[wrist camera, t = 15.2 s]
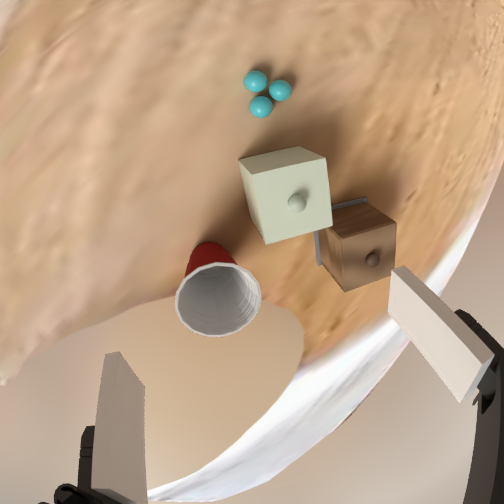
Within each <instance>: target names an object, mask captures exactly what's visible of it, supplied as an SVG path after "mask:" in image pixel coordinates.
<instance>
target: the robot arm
mask: <svg viewBox="0 0 504 504" xmlns="http://www.w3.org/2000/svg"><path fill="white" fill-rule="evenodd" d="M388 313H389V314H390V316H391V317H392V318H393V319H394V320H395V322H396V323H397V324H398V325H399V326H400V328H401V329H402V330H403V331H404V332H405V334H406V335H407V336H408V337H409V339H410V340H411V341H412V342H413V343H414V345H415V346H416V347H417V348H418V350H419V351H420V352H421V353H422V355H423V356H424V357H425V358H426V360H427V361H428V362H429V364H430V365H431V366H432V367H433V369H434V370H435V371H436V373H438V375H439V376H440V378H441V379H442V380H443V382H444V383H445V384H446V386H447V387H448V388H449V390H450V391H451V392H452V394H453V395H454V396H455V398H456V399H457V400H458V402H459V403H461V402H463V401H464V400H465V399H467V398H468V397H470V396H471V395H472V394H473V392H474V391H475V389H476V388H478V389H479V390H480V391H479V393H478V395H477V396H476V398H475V399H474V401H473V405H475V404H476V402H477V401H478V411H477V424H476V433H475V442H474V450H473V456H472V463H471V469H470V474H469V479H468V484H467V489H466V493H465V497H464V501H463V504H504V348H502V347H501V346H500V344H499V343H498V342H497V341H496V340H495V339H494V338H493V337H492V336H491V335H490V334H489V333H488V332H487V331H486V330H485V329H483V328H482V326H481V325H480V324H479V323H477V321H476V320H475V319H474V318H473V317H472V316H471V315H470V314H469V313H467V312H465V311H463V310H461V309H459V310H457V311H455V312H453V311H452V310H451V309H450V308H449V307H448V306H447V305H446V304H445V303H444V302H443V301H442V300H441V299H440V298H439V297H438V296H437V295H436V294H435V293H434V292H433V291H432V290H430V289H429V288H428V287H427V286H426V285H425V284H424V283H423V282H422V281H421V280H420V279H419V278H417V277H416V276H415V275H414V274H413V273H412V272H411V271H410V270H409V269H408V268H406V267H405V266H404V265H403V266H401V267H398V268H395V269H393V270H392V271H391V283H390V294H389V303H388ZM144 394H145V386H144V385H143V384H142V382H141V381H140V380H139V378H138V377H137V376H136V374H135V373H134V372H133V370H132V369H131V367H130V366H129V365H128V363H127V362H126V360H125V359H124V357H123V356H122V354H121V353H120V352H114V353H110V354H105V359H104V365H103V371H102V377H101V384H100V391H99V398H98V406H97V414H96V423H95V426H87V427H86V428H85V430H84V432H83V435H82V437H81V447H80V448H81V450H80V458H79V470H78V486H77V487H76V486H74V485H71V484H62V485H60V486H59V487H58V488H57V489H56V491H55V494H54V503H55V504H148V500H147V488H146V469H145V441H144ZM38 504H49V503H46V502H40V503H38Z"/></svg>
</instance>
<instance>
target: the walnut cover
mask: <svg viewBox="0 0 504 504" xmlns="http://www.w3.org/2000/svg"><path fill="white" fill-rule="evenodd" d="M331 211H332V223H333V226H330V227H327V228H323V229H320V230H318V238H319V248H320V259H321V263H322V264H323V266H324V267H325V268H326V270H327V271H328V272H329V273H330V275H331V276H332V277H333V278H334V280H335V281H336V282H337V283H338V285H339V286H340V287H341V289H342V290H343V291H344V292H347V291H350V290H352V289H355V288H358V287H361V286H364V285H366V284H369V283H372V282H374V281H377V280H380V279H382V278H385V277H388V276H390V275H391V271H392V270H393V269H394V266H395V250H396V228H397V223H396V222H395V221H393V220H392V219H391V218H389V217H388V216H386V215H385V214H383V213H382V212H380V211H379V210H377V209H376V208H374V207H373V206H371V205H370V204H368V203H367V202H365V201H364V202H360V203H357V204H353V205H349V206H345V207H341V208H338V209H334V210H331Z"/></svg>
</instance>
